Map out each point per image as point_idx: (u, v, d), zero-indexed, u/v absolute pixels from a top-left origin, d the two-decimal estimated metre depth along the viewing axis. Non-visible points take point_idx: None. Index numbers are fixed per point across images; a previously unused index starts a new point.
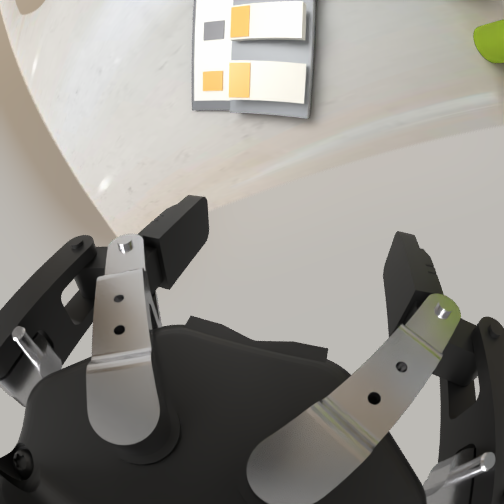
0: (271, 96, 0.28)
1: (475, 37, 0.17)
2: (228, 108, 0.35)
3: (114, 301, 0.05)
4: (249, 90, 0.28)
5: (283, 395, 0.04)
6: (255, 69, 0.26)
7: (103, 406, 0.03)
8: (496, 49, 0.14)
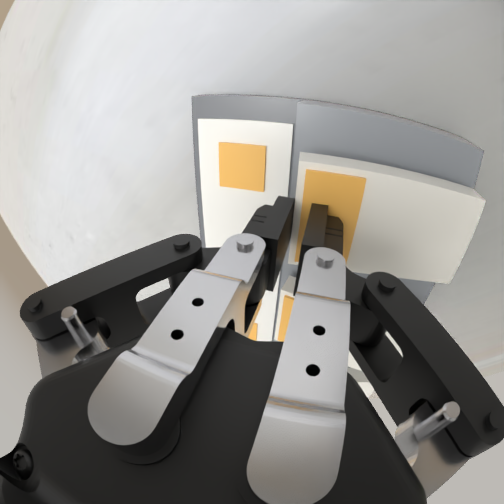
0: None
1: None
2: None
3: (192, 302, 0.06)
4: None
5: None
6: None
7: (103, 406, 0.03)
8: None
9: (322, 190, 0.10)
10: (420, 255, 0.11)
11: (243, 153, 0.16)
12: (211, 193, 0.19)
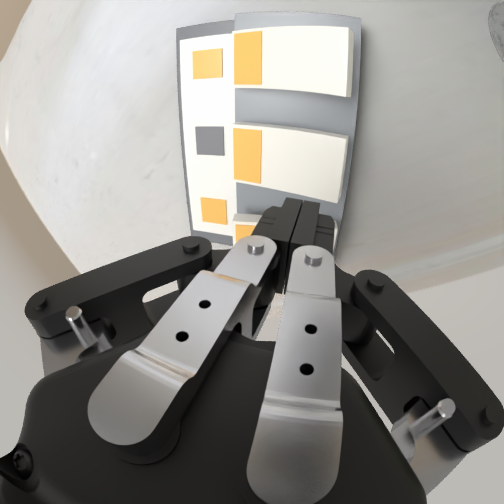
0: None
1: None
2: None
3: (199, 304, 0.05)
4: None
5: None
6: None
7: (103, 406, 0.03)
8: None
9: (241, 41, 0.16)
10: (309, 71, 0.15)
11: (208, 54, 0.20)
12: (187, 86, 0.23)
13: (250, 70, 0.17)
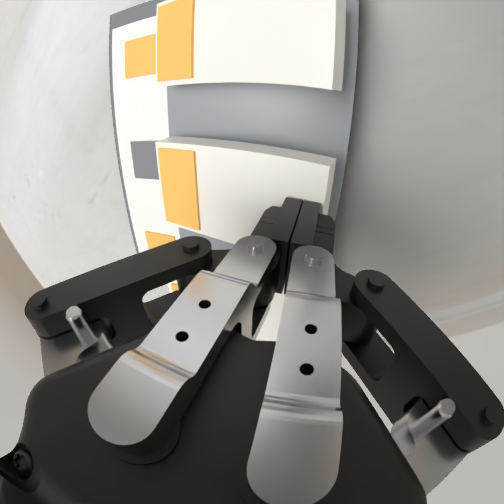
0: None
1: None
2: None
3: (199, 304, 0.05)
4: None
5: None
6: None
7: (103, 406, 0.03)
8: None
9: (167, 15, 0.09)
10: (266, 47, 0.08)
11: (142, 44, 0.13)
12: (120, 89, 0.16)
13: (177, 57, 0.10)
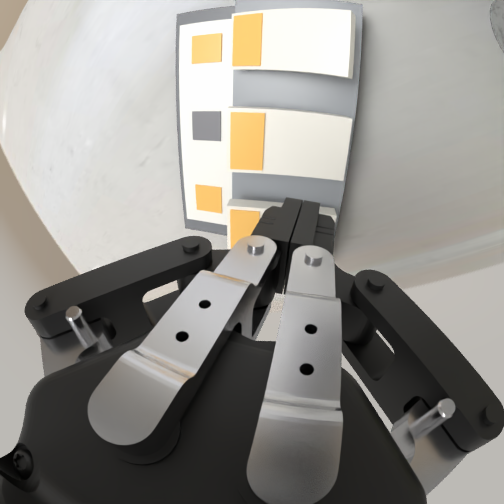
0: None
1: None
2: None
3: (199, 304, 0.05)
4: None
5: None
6: None
7: (103, 406, 0.03)
8: None
9: (241, 23, 0.15)
10: (310, 52, 0.14)
11: (207, 39, 0.19)
12: (185, 71, 0.22)
13: (249, 51, 0.16)
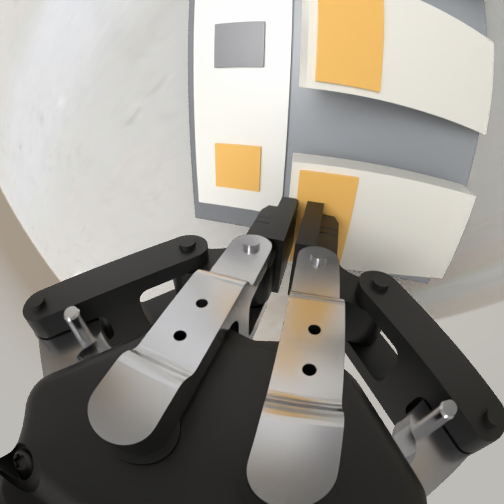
0: (388, 263, 0.12)
1: None
2: None
3: (196, 303, 0.05)
4: (342, 249, 0.12)
5: None
6: (367, 198, 0.11)
7: (103, 406, 0.03)
8: None
9: None
10: None
11: None
12: None
13: None
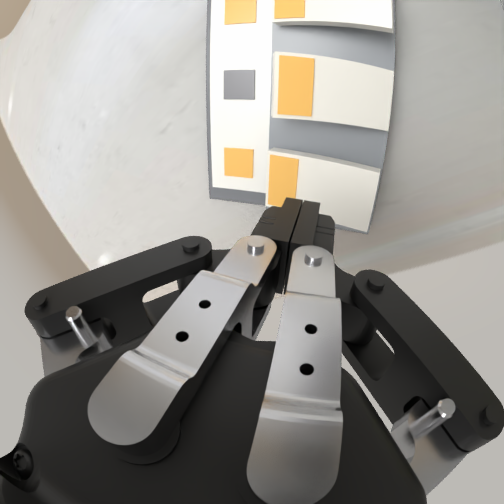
0: (324, 213, 0.22)
1: None
2: (260, 202, 0.29)
3: (199, 304, 0.05)
4: None
5: None
6: (305, 170, 0.21)
7: (103, 406, 0.03)
8: None
9: None
10: (354, 6, 0.12)
11: (241, 2, 0.17)
12: (217, 32, 0.19)
13: (292, 5, 0.13)
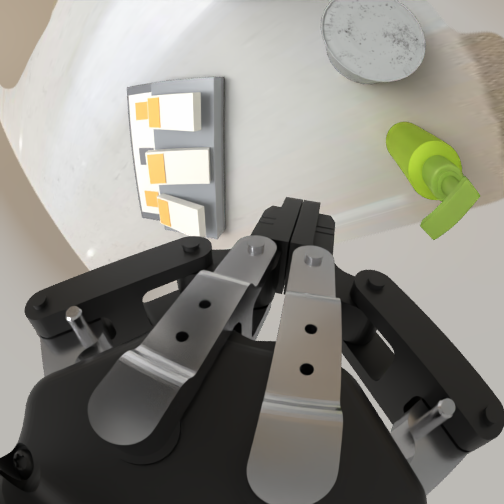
0: (181, 229, 0.42)
1: (386, 140, 0.31)
2: None
3: (199, 304, 0.05)
4: (170, 221, 0.42)
5: None
6: (170, 207, 0.40)
7: (103, 406, 0.03)
8: None
9: (150, 103, 0.32)
10: (178, 119, 0.31)
11: (143, 105, 0.36)
12: (134, 124, 0.39)
13: (155, 119, 0.33)
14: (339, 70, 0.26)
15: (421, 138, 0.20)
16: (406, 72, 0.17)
